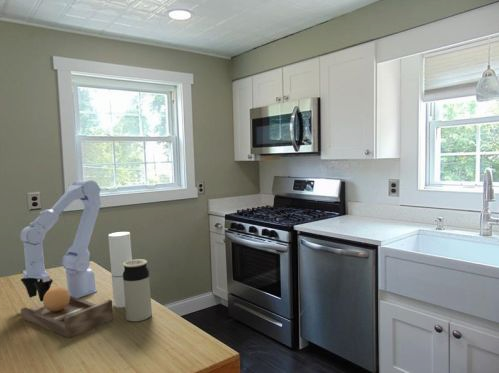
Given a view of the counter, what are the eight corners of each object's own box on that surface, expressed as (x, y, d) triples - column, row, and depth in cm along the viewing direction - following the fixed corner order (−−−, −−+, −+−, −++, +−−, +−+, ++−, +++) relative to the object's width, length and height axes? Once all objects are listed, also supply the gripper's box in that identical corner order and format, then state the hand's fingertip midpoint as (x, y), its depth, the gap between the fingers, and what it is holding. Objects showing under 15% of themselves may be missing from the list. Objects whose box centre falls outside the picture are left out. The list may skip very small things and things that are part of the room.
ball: (62, 304, 132) (60, 281, 132) (75, 308, 128) (73, 285, 127) (39, 312, 126) (37, 289, 125) (52, 317, 121) (49, 293, 121)
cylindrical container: (139, 300, 136) (134, 232, 134) (125, 308, 130) (119, 236, 128) (124, 298, 139) (118, 231, 137) (109, 305, 133) (103, 235, 131)
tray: (65, 302, 138) (63, 286, 138) (113, 318, 122) (111, 300, 122) (21, 317, 126) (19, 300, 126) (68, 338, 110) (66, 318, 109)
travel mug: (138, 324, 117) (133, 267, 115) (120, 319, 121) (116, 264, 120) (157, 314, 124) (153, 260, 122) (140, 310, 128) (136, 257, 126)
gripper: (12, 261, 134) (16, 298, 135) (33, 266, 125) (37, 306, 126) (33, 256, 139) (36, 292, 140) (54, 260, 131) (57, 299, 132)
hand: (38, 298), depth 134 cm, fingers open, 7 cm apart
